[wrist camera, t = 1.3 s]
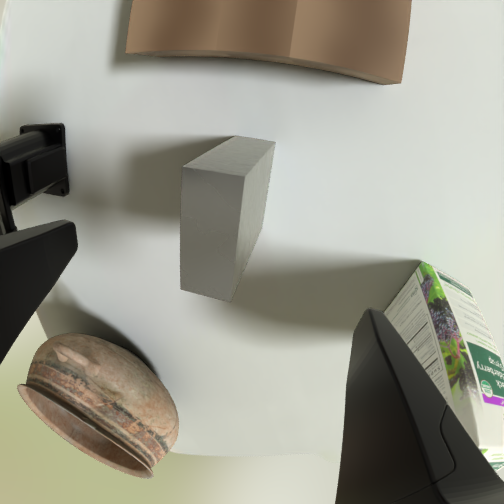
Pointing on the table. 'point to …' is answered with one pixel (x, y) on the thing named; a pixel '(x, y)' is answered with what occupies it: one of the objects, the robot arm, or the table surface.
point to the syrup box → (455, 353)
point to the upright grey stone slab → (222, 214)
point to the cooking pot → (102, 402)
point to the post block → (279, 33)
